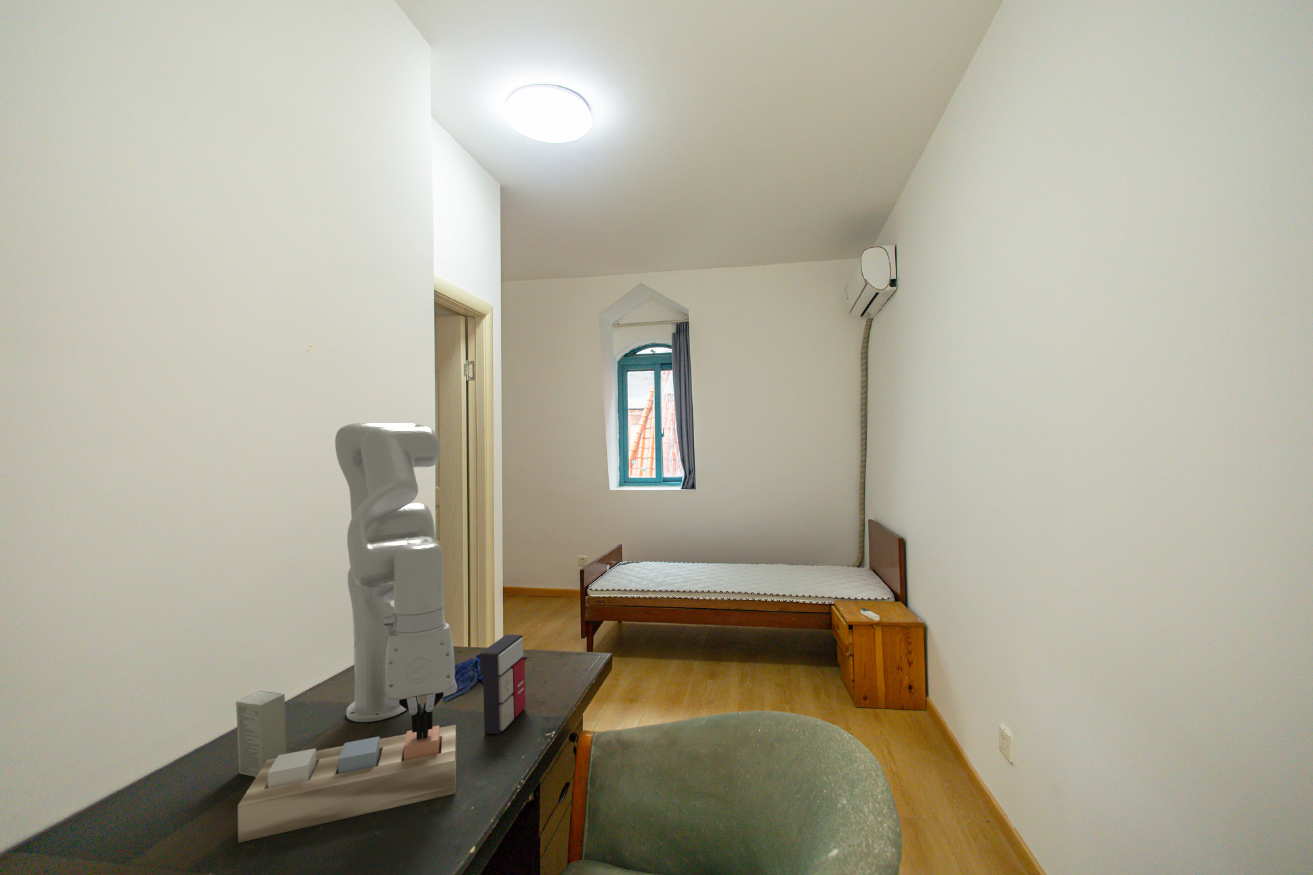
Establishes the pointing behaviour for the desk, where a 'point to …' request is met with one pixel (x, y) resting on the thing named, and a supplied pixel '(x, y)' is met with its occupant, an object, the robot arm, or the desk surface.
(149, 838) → the desk surface
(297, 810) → the key console
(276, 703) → the skincare box
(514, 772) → the desk surface
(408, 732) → the terracotta key
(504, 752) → the desk surface
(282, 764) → the offwhite key
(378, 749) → the slate key
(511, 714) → the calculator
